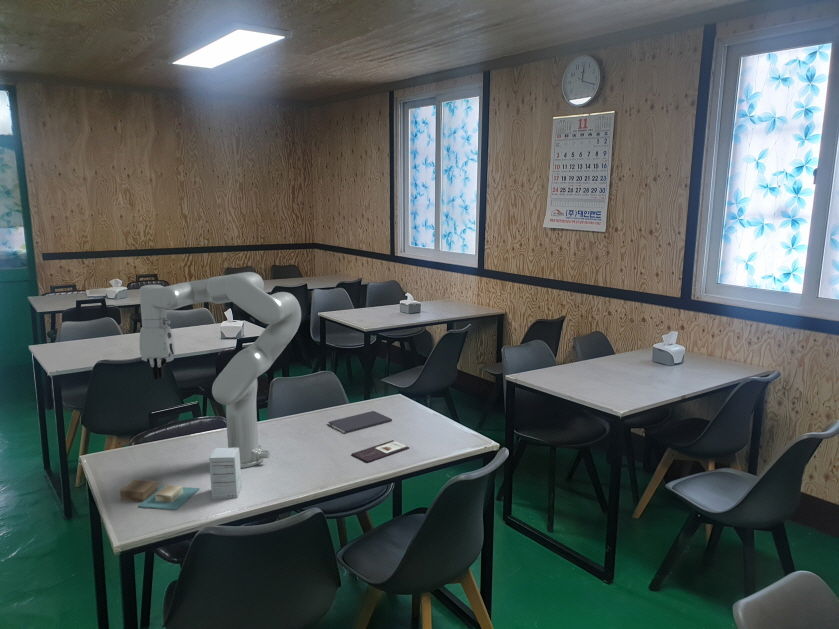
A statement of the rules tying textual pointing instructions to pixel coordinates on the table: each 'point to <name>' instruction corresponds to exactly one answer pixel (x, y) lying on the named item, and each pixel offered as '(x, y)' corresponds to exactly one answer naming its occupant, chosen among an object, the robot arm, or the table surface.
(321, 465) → the table surface
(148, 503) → the rubber mat
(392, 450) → the chocolate bar
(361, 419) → the notebook
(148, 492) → the walnut block
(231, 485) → the supplement box
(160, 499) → the birch block
